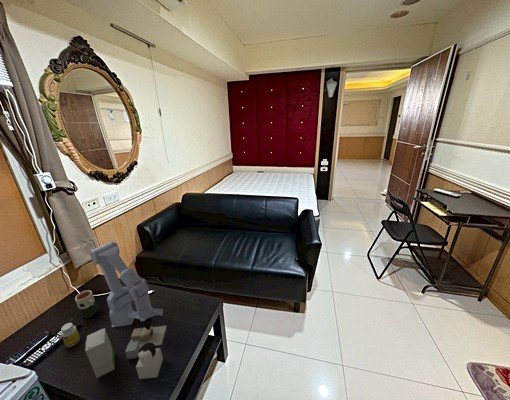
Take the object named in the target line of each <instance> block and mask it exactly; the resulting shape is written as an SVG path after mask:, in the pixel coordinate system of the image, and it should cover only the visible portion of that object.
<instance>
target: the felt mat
mask: <svg viewBox="0 0 510 400" xmlns="http://www.w3.org/2000/svg"><path fill="white" fill-rule="evenodd" d="M152 328H153V335H152V339H151V340H149V341H142V342H139V345H140V348H141V347H142V346H143V345H144V344H146V343H153V344H154V345H155V346H161V345H163V340H164V337H165V333H166V330H167V325H160V326H152ZM131 342H132V338H131V339H130V341H129V343H131Z"/></svg>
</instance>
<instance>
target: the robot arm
mask: <svg viewBox="0 0 510 400" xmlns="http://www.w3.org/2000/svg"><path fill="white" fill-rule="evenodd" d="M89 257H90V258H91V261H92V262H93V264H94V265H95V266H96V265H99V267H100V269H101V271H102V273H103V277H104V279H105V280H106V284H107V285H108V288H109V290H110V293H109V295H108V296H107V298H106V302H107V306H108V309H109V319H110V323H111V328H117V327H123V326H130V325H133V322H134V320H135V319H136V320H138V323H139V324H141V325H142V326H143V328H144V327H145V328H146V329H147V330H149V329H150V328H151V326H152V319H153V317H156V316H161V317H162V316H163V314H164V310H163V308H155V307H152V305H151V299H150V295H149V291H150V289H151V286H150V284H149V282H148V281H147V280H146V279H145V278H143V277H140V276H139V275H138V273H136V271H135V270H134V269H133V268H128V266H127V264H126V263H125V262H124V260H123V258H122V257H121V256H120V246H119V245H118V243H117V242H115V241H114V240H112V241H110V242H107V243H105V244H103V245H100V246H98V247H96V248H94V249H91V250H90V252H89ZM117 272H118V273H117ZM118 274H120V275H119V276H118ZM120 280H121V281H120ZM121 282H123V284H124V285H125V286H123V285H122V283H121ZM132 301H134V305H135V308H136V311H134V310H133V307H132V306H133V305H132V303H133V302H132Z"/></svg>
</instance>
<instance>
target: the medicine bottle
mask: <svg viewBox="0 0 510 400" xmlns="http://www.w3.org/2000/svg"><path fill="white" fill-rule="evenodd" d="M163 358H164V357H163V353H162V350H161V347H158V348H156V345H154V344H153V343H146V344H144V345H143V346H142V347H141V348H140V349H139V351H138V361H137V363H136V366H135V370H136V372H137V376H138V378H139V379H138V380H143V379H152V378H158V376H159V374H160V371H161V370H160V369H161V367H162V364H163V360H164V359H163Z"/></svg>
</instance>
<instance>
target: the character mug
mask: <svg viewBox="0 0 510 400" xmlns="http://www.w3.org/2000/svg"><path fill="white" fill-rule="evenodd" d="M74 300H75V303H76V305H77V308H78V309H79V310H81V313H82V318H84V319H89V318H91V317H93V316H94V315H95V314H96V313H97V312H98V309H97V307H96V305H95V304H94V303H95V297H94V294H93V291H92V290H89V289H88V290H87V289H86V290H83V291H81V292H79V293H78V294H77V295H75V298H74Z"/></svg>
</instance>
